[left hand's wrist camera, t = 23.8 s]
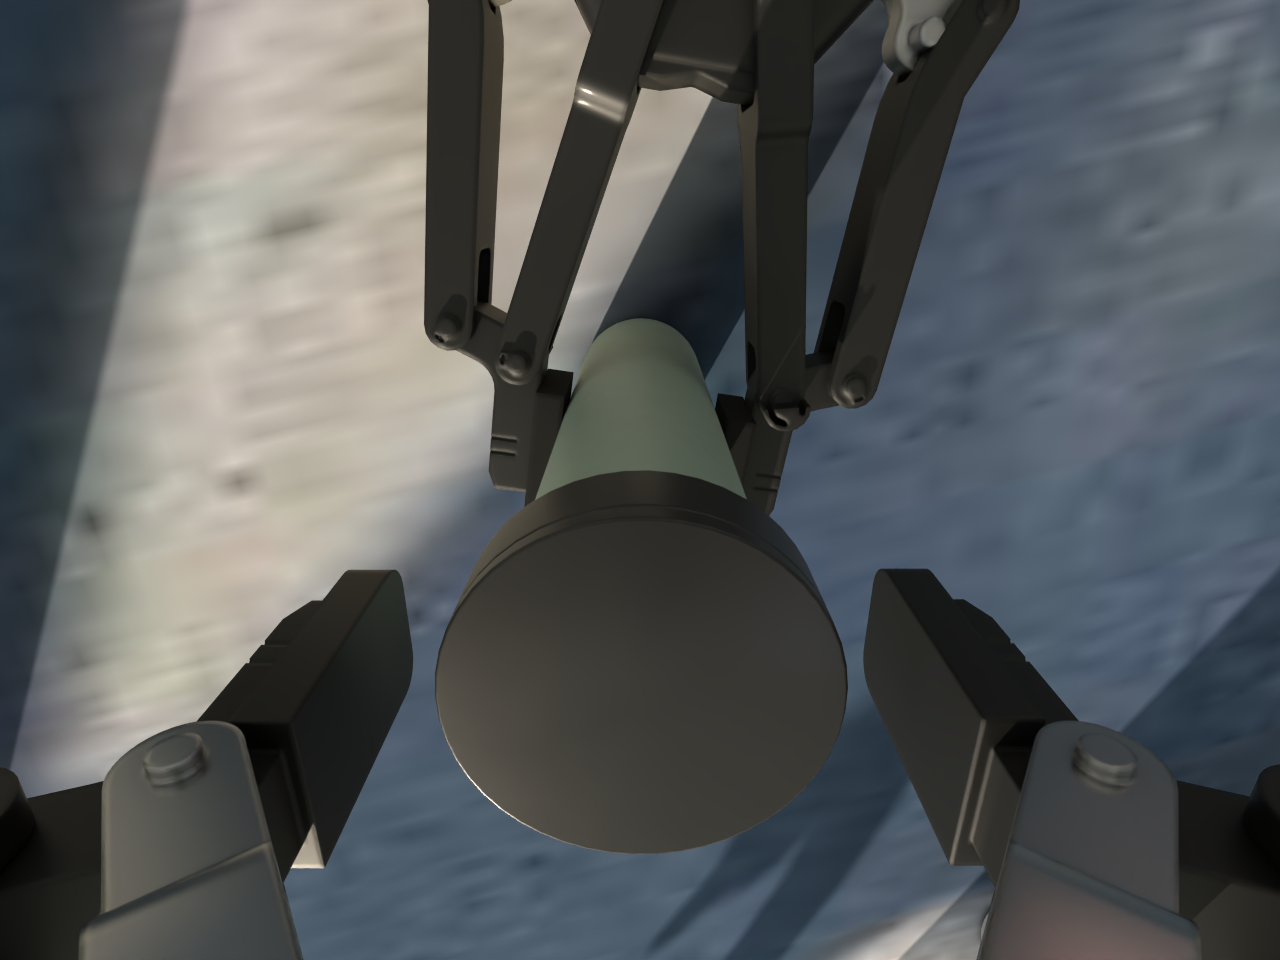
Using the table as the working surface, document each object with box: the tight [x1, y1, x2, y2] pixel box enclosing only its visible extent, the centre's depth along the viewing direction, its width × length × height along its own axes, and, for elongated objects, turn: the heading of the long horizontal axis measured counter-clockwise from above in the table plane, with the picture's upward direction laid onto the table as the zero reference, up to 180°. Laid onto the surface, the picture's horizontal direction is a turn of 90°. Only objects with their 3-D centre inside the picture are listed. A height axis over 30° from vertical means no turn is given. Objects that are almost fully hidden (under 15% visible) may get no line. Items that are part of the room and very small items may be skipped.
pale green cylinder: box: [535, 318, 747, 500], centre depth 18 cm, size 4×4×17 cm
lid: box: [435, 470, 848, 854], centre depth 10 cm, size 5×5×2 cm
